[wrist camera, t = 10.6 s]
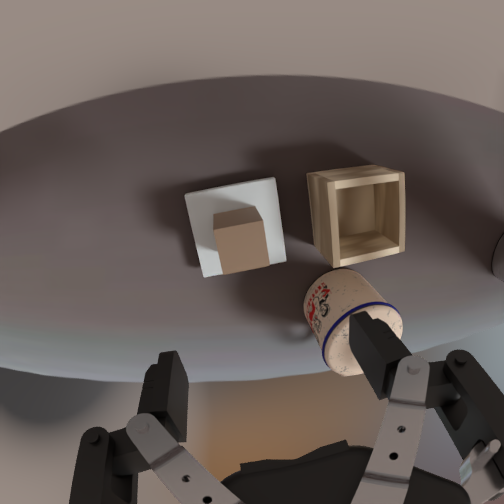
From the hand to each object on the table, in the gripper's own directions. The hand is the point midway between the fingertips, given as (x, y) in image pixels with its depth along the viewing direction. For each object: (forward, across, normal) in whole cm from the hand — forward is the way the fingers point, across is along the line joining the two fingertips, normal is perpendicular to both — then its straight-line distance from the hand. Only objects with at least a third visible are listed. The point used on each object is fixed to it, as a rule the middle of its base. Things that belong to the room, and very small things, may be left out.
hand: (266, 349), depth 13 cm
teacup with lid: (+20, -10, +13) cm, 26 cm away
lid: (+18, 0, 0) cm, 18 cm away
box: (+19, -12, 0) cm, 23 cm away
